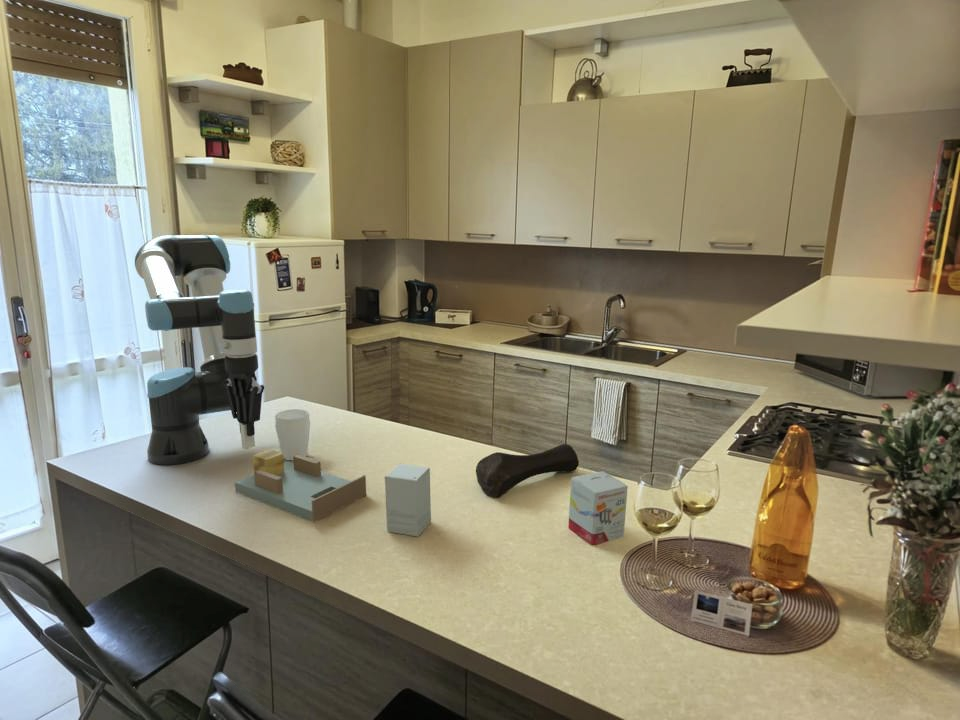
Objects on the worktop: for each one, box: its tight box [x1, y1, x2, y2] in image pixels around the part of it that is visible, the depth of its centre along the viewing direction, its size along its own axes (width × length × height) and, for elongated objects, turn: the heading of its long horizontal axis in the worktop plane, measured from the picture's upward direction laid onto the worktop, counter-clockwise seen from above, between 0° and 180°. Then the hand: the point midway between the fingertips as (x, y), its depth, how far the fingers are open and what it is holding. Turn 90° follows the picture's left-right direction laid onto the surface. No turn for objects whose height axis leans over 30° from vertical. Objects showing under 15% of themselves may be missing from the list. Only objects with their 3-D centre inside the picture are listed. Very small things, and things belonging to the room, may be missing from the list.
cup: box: [274, 409, 311, 462], centre depth 170 cm, size 9×9×12 cm
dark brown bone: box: [475, 443, 580, 499], centre depth 156 cm, size 11×10×28 cm
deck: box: [234, 455, 367, 523], centre depth 148 cm, size 27×16×6 cm, turn 57°
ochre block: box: [252, 448, 285, 476], centre depth 153 cm, size 5×5×5 cm
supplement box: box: [384, 463, 432, 538], centre depth 132 cm, size 7×7×13 cm
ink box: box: [567, 470, 629, 547], centre depth 130 cm, size 9×9×12 cm
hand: (248, 447), depth 156 cm, fingers closed
